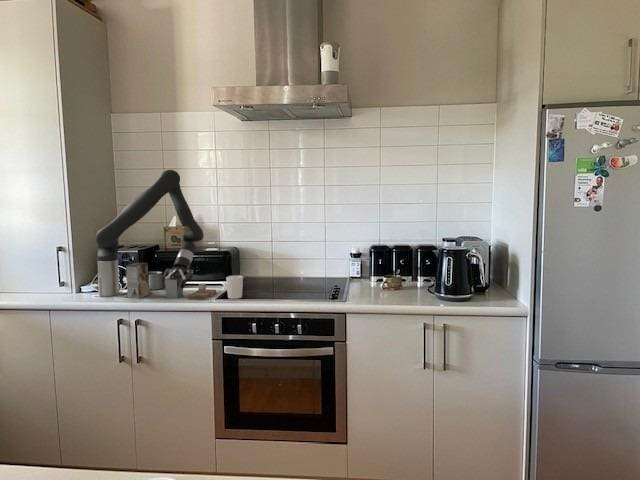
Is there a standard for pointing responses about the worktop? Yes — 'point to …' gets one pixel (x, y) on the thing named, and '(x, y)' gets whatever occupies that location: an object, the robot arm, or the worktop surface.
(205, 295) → the post block
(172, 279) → the socket
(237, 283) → the white cup
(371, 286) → the worktop surface
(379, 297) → the worktop surface
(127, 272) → the coffee box
